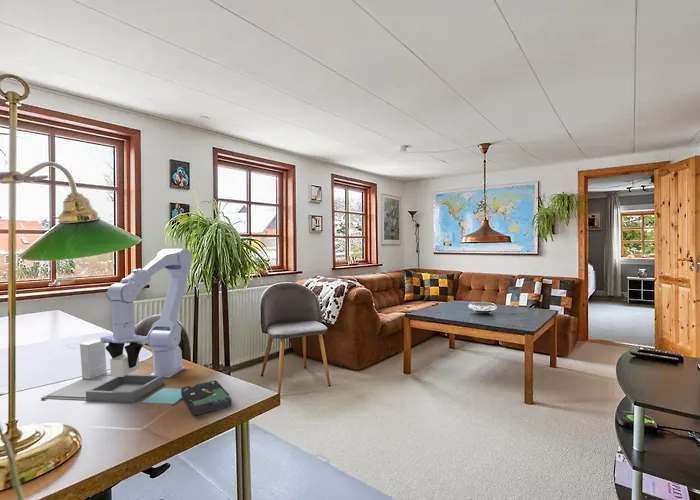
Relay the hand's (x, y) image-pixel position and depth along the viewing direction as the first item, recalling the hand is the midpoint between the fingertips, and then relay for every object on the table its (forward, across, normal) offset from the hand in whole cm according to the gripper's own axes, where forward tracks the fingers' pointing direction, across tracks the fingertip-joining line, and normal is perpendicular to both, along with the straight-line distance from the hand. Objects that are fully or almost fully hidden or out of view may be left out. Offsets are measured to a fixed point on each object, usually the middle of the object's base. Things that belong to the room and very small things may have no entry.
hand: (125, 366), depth 116 cm
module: (+2, 0, 0) cm, 2 cm away
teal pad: (+8, +15, -2) cm, 17 cm away
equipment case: (+8, -8, 0) cm, 11 cm away
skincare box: (+8, -22, +12) cm, 26 cm away
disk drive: (+8, +28, -4) cm, 29 cm away
